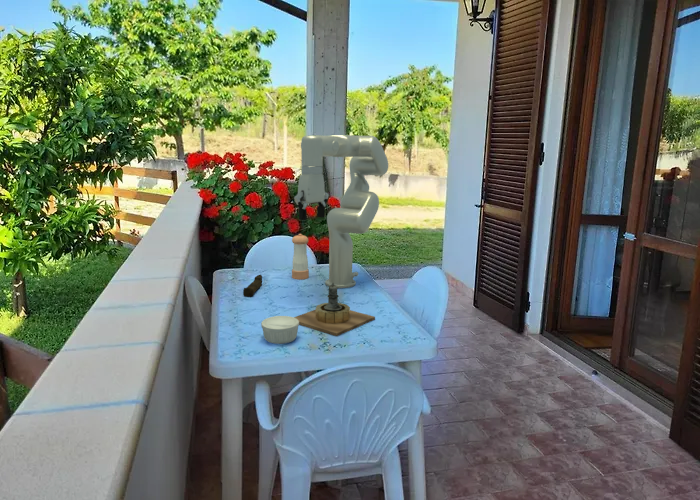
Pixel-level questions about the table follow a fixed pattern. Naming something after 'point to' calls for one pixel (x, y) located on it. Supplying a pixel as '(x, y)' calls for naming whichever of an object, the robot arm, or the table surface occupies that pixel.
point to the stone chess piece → (332, 300)
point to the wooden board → (334, 329)
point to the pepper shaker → (300, 258)
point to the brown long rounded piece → (253, 286)
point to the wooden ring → (332, 314)
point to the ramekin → (280, 329)
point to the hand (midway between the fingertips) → (311, 218)
